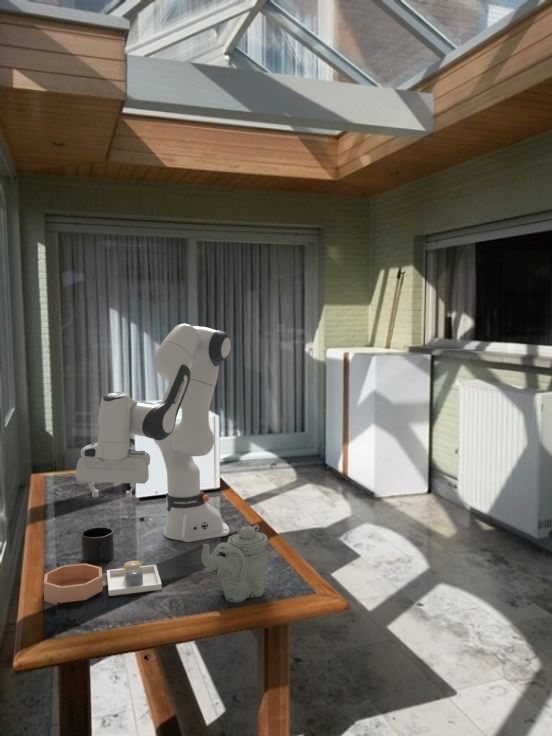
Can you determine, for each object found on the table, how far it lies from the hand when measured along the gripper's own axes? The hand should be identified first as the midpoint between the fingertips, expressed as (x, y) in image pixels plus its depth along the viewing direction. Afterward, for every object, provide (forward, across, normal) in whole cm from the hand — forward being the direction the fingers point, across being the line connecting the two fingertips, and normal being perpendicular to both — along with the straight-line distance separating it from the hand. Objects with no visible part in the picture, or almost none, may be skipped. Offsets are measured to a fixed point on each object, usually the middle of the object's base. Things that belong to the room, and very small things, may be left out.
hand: (111, 497), depth 186 cm
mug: (+24, +5, -11) cm, 27 cm away
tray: (+23, -8, +6) cm, 25 cm away
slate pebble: (+22, -9, +10) cm, 26 cm away
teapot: (+22, -36, +14) cm, 45 cm away
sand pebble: (+22, -7, +3) cm, 24 cm away
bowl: (+24, +8, +10) cm, 27 cm away
